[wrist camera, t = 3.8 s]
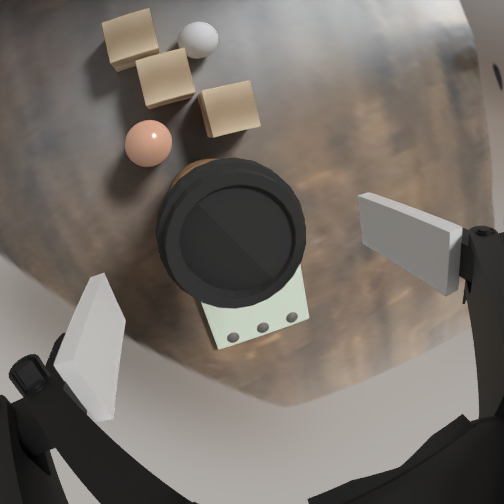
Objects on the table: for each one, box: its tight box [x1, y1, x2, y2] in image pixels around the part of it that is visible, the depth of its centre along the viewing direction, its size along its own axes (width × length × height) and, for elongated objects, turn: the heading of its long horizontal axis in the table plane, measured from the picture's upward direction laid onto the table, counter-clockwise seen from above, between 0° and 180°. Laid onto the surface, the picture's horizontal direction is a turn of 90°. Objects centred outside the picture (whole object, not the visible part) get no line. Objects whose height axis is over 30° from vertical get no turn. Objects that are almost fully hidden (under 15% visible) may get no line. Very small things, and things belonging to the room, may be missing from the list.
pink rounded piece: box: [125, 120, 172, 167], centre depth 25 cm, size 4×4×5 cm
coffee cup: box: [156, 158, 306, 309], centre depth 23 cm, size 8×8×15 cm
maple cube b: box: [136, 48, 195, 110], centre depth 24 cm, size 4×4×4 cm
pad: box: [201, 265, 309, 349], centre depth 34 cm, size 12×11×1 cm
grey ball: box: [178, 22, 218, 59], centre depth 23 cm, size 4×4×4 cm
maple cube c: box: [197, 81, 261, 138], centre depth 26 cm, size 4×4×4 cm
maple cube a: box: [102, 8, 159, 72], centre depth 22 cm, size 4×4×4 cm
